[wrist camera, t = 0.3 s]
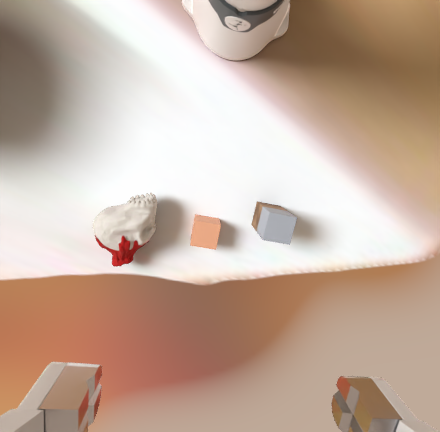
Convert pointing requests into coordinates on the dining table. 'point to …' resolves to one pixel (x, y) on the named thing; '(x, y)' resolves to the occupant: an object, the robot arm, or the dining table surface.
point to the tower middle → (276, 225)
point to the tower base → (258, 212)
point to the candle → (126, 227)
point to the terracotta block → (205, 232)
